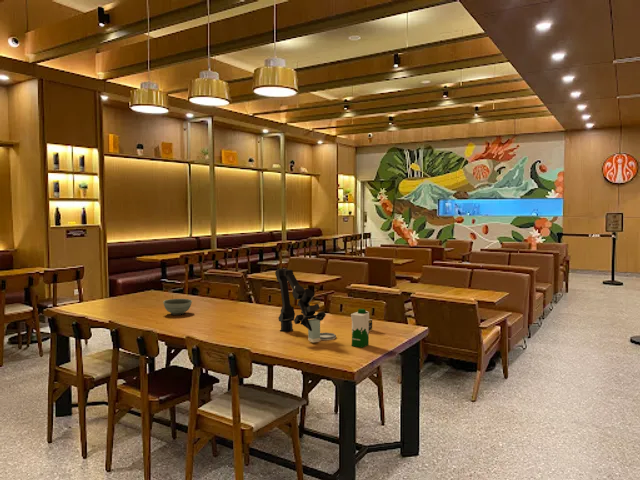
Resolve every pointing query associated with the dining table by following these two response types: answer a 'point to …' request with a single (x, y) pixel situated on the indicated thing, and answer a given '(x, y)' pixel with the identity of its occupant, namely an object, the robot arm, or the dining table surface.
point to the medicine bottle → (369, 322)
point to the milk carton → (360, 328)
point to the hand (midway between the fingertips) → (315, 330)
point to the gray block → (314, 330)
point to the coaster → (327, 336)
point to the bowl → (177, 306)
